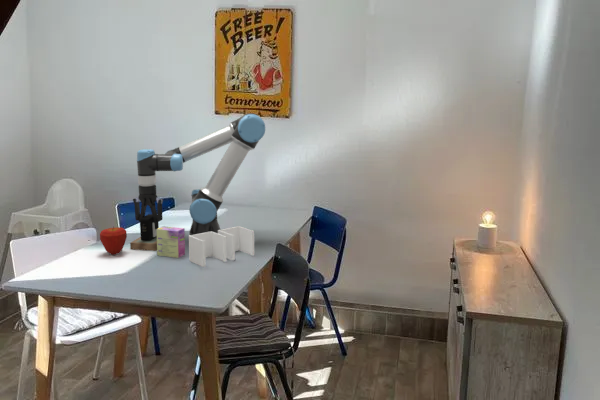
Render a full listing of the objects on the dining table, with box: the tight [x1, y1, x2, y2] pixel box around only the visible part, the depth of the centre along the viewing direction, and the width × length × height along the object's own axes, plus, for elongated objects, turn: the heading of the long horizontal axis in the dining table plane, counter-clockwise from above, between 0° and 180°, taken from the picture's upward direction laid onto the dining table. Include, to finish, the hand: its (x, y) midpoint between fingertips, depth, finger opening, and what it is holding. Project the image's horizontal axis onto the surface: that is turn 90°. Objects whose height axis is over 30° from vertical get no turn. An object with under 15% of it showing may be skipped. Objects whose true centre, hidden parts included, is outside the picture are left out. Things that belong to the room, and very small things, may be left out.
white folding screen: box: [188, 225, 255, 268], centre depth 243 cm, size 25×11×11 cm, turn 130°
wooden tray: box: [129, 236, 157, 252], centre depth 261 cm, size 12×14×3 cm
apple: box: [99, 226, 128, 256], centre depth 248 cm, size 11×11×12 cm
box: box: [156, 225, 186, 259], centre depth 246 cm, size 10×6×12 cm, turn 71°
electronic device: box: [139, 213, 157, 241], centre depth 260 cm, size 4×10×10 cm, turn 170°
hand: (149, 235), depth 261 cm, fingers open, 4 cm apart
